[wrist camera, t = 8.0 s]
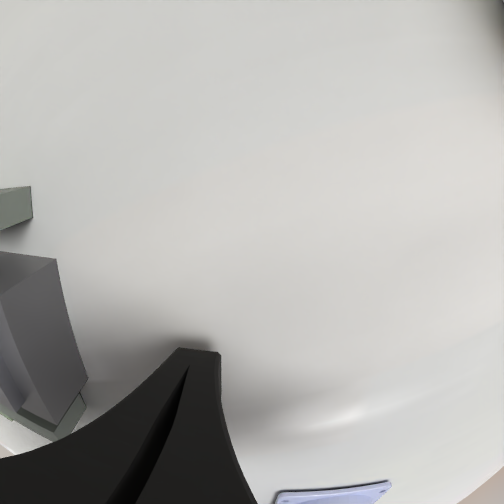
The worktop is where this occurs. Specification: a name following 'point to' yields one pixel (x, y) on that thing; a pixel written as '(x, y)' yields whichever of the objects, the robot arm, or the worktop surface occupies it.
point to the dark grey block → (36, 339)
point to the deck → (8, 214)
